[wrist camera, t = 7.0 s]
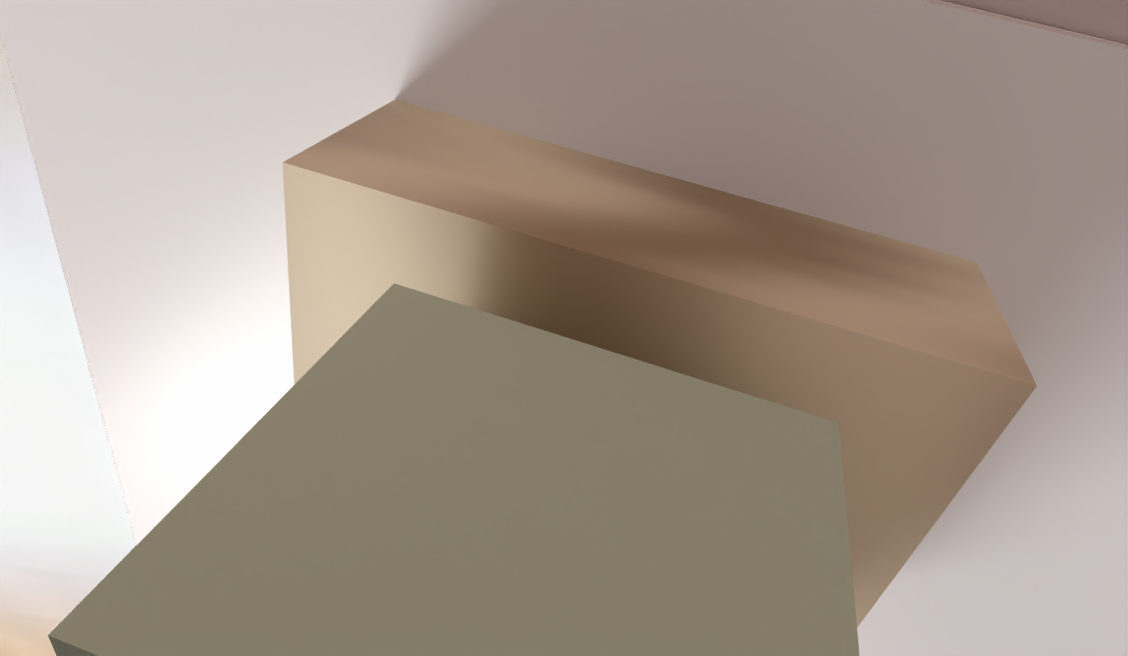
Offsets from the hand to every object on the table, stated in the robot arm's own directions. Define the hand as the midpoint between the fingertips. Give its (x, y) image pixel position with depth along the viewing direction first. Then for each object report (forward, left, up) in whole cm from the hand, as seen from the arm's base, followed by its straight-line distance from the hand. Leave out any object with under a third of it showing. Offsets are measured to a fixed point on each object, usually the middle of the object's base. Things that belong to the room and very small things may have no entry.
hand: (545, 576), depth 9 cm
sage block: (0, 0, 0) cm, 0 cm away
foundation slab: (0, 0, -4) cm, 4 cm away
